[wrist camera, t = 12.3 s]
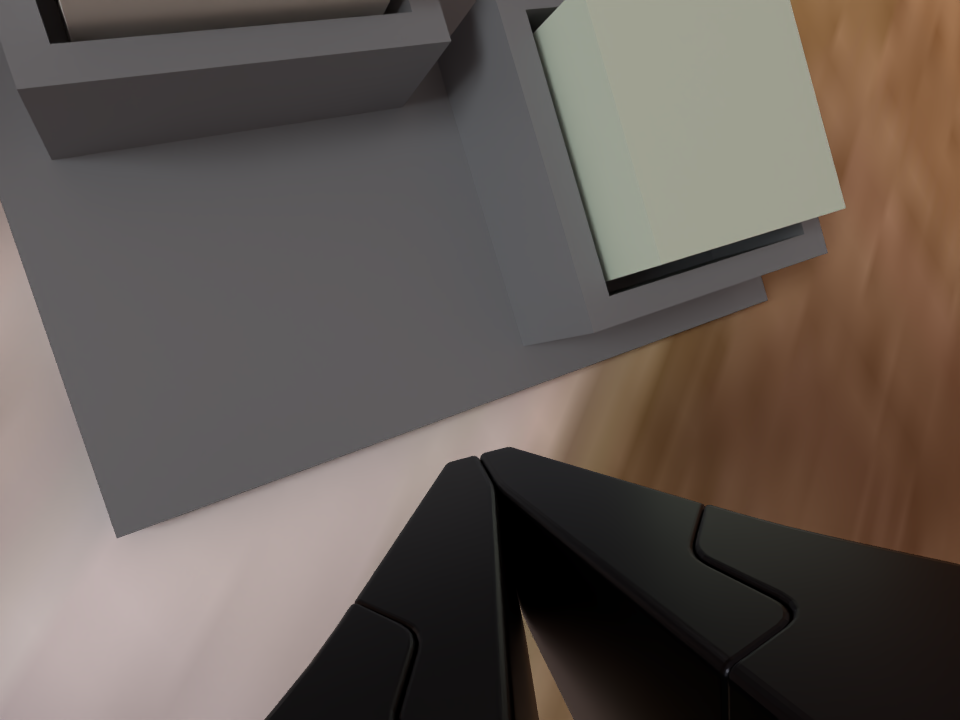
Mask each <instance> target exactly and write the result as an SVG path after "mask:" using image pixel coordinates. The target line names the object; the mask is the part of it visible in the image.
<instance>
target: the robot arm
mask: <svg viewBox="0 0 960 720" xmlns="http://www.w3.org/2000/svg"><path fill="white" fill-rule="evenodd" d="M519 604H520V605H519ZM520 607H521V610H522V613H523V616H524V618H525V620H526V622H527V624H528V627H529V629H530V631H531V633H532V635H533V637H534V639H535V641H536V643H537V646H538V648H539V650H540V652H541V654H542V656H543V658H544V660H545V662H546V664H547V666H548V668H549V670H550V672H551V674H552V676H553V678H554V680H555V682H556V684H557V686H558V688H559V690H560V692H561V694H562V696H563V698H564V701H565V703H566V705H567V707H568V709H569V711H570V713H571V715H572V717H573V719H574V720H960V564H956V563H951V562H947V561H942V560H937V559H933V558H928V557H923V556H919V555H914V554H909V553H905V552H900V551H895V550H891V549H886V548H881V547H877V546H872V545H868V544H863V543H858V542H854V541H849V540H845V539H840V538H836V537H831V536H827V535H823V534H818V533H814V532H810V531H805V530H801V529H796V528H792V527H788V526H784V525H780V524H776V523H773V522H769V521H765V520H762V519H758V518H754V517H751V516H747V515H743V514H739V513H736V512H733V511H729V510H726V509H723V508H719V507H716V506H713V505H707V506H706V507H705V506H704V505H703V504H701V503H698V502H695V501H691V500H688V499H685V498H681V497H678V496H674V495H671V494H668V493H664V492H661V491H658V490H654V489H651V488H647V487H644V486H641V485H637V484H634V483H630V482H627V481H624V480H620V479H617V478H614V477H610V476H607V475H603V474H600V473H597V472H593V471H590V470H587V469H583V468H580V467H576V466H573V465H570V464H566V463H563V462H559V461H556V460H553V459H549V458H546V457H543V456H539V455H536V454H532V453H529V452H526V451H522V450H519V449H515V448H512V447H506V448H502V449H498V450H494V451H490V452H487V453H484V454H482V455H481V458H480V459H479V458H478V457H476V456H471V457H467V458H464V459H460V460H456V461H452V462H449V463H448V464H446V465H445V467H444V468H443V470H442V471H441V473H440V474H439V476H438V478H437V479H436V481H435V482H434V484H433V485H432V487H431V488H430V490H429V491H428V493H427V494H426V496H425V497H424V499H423V500H422V502H421V503H420V505H419V506H418V508H417V509H416V511H415V512H414V514H413V515H412V517H411V518H410V520H409V521H408V523H407V524H406V526H405V527H404V529H403V530H402V532H401V533H400V535H399V536H398V538H397V539H396V541H395V542H394V544H393V545H392V547H391V548H390V550H389V551H388V553H387V554H386V556H385V557H384V559H383V560H382V562H381V563H380V565H379V566H378V568H377V569H376V571H375V572H374V574H373V575H372V577H371V578H370V580H369V581H368V583H367V584H366V586H365V587H364V589H363V590H362V592H361V593H360V595H359V596H358V598H357V599H356V601H355V603H354V604H353V605H351V606H350V607H349V609H348V610H347V612H346V613H345V615H344V616H343V618H342V619H341V621H340V622H339V624H338V625H337V627H336V628H335V630H334V631H333V632H332V634H331V635H330V637H329V638H328V639H327V641H326V642H325V643H324V645H323V646H322V648H321V649H320V650H319V652H318V653H317V655H316V656H315V657H314V659H313V660H312V662H311V663H310V664H309V666H308V667H307V668H306V669H305V671H304V672H303V673H302V674H301V675H300V677H299V678H298V679H297V680H296V682H295V683H294V684H293V685H292V687H291V688H290V689H289V690H288V692H287V693H286V694H285V695H284V696H283V698H282V699H281V700H280V701H279V703H278V704H277V705H276V706H275V708H274V709H273V710H272V711H271V712H270V714H269V715H268V716H267V717H266V718H265V720H539V717H538V711H537V704H536V698H535V692H534V686H533V679H532V673H531V667H530V661H529V654H528V648H527V642H526V636H525V630H524V625H523V620H522V615H521V610H520Z"/></svg>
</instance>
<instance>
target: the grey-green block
mask: <svg viewBox="0 0 960 720" xmlns="http://www.w3.org/2000/svg"><path fill="white" fill-rule="evenodd" d="M533 37H534V40H535V44H536V47H537V51H538V54H539V57H540V61H541V64H542V68H543V71H544V74H545V78H546V81H547V85H548V88H549V92H550V95H551V98H552V102H553V105H554V109H555V112H556V115H557V119H558V122H559V126H560V129H561V133H562V136H563V139H564V143H565V146H566V150H567V153H568V156H569V160H570V163H571V167H572V170H573V174H574V177H575V180H576V184H577V187H578V191H579V194H580V197H581V201H582V204H583V208H584V211H585V215H586V218H587V221H588V225H589V228H590V232H591V235H592V238H593V242H594V245H595V249H596V252H597V256H598V259H599V262H600V266H601V269H602V273H603V276H604V279H605V282H606V281H610V280H613V279H616V278H619V277H623V276H626V275H629V274H633V273H636V272H639V271H643V270H646V269H649V268H652V267H656V266H659V265H662V264H666V263H669V262H672V261H675V260H679V259H682V258H685V257H688V256H692V255H695V254H698V253H701V252H705V251H708V250H711V249H714V248H718V247H721V246H724V245H727V244H731V243H734V242H737V241H741V240H744V239H747V238H750V237H754V236H757V235H760V234H763V233H767V232H770V231H773V230H776V229H780V228H783V227H786V226H789V225H793V224H796V223H799V222H802V221H806V220H809V219H812V218H815V217H819V216H822V215H825V214H828V213H832V212H835V211H838V210H841V209H845V208H846V207H845V203H844V200H843V196H842V192H841V189H840V185H839V181H838V177H837V174H836V170H835V166H834V163H833V159H832V155H831V151H830V148H829V144H828V140H827V137H826V133H825V129H824V125H823V122H822V118H821V114H820V111H819V107H818V103H817V100H816V96H815V92H814V88H813V85H812V81H811V77H810V74H809V70H808V66H807V62H806V59H805V55H804V51H803V48H802V44H801V40H800V36H799V33H798V29H797V25H796V22H795V18H794V14H793V11H792V7H791V3H790V0H564V1H563V2H562V3H561V5H560V6H559V7H558V8H557V9H556V10H555V11H554V12H553V13H552V14H551V15H550V16H549V17H548V18H547V19H546V20H545V21H544V23H543V24H542V25H541V26H540V27H539V28H538V29H537V30H536V31H535V32H534V33H533Z"/></svg>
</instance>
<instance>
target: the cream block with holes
mask: <svg viewBox="0 0 960 720" xmlns="http://www.w3.org/2000/svg"><path fill="white" fill-rule="evenodd" d="M55 2H56V5H57V8H58V11H59V14H60V17H61V20H62V23H63V26H64V29H65V32H66V35H67V38H68V41H69V42H79V41H91V40H102V39H113V38H125V37H136V36H147V35H158V34H170V33H181V32H192V31H204V30H215V29H226V28H238V27H249V26H260V25H272V24H283V23H294V22H305V21H317V20H328V19H339V18H351V17H362V16H373V15H383V14H384V12H385V10H386V8H387V6H388V4H389V2H390V0H55Z"/></svg>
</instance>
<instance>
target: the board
mask: <svg viewBox="0 0 960 720" xmlns="http://www.w3.org/2000/svg"><path fill="white" fill-rule="evenodd" d="M563 1H564V0H390V2H389V4H388V6H387V8H386V10H385V12H384V14H383V15H373V16H362V17H351V18H339V19H328V20H317V21H305V22H294V23H283V24H272V25H260V26H249V27H238V28H226V29H215V30H204V31H192V32H181V33H170V34H158V35H147V36H136V37H125V38H113V39H102V40H91V41H79V42H69V41H68V38H67V35H66V32H65V29H64V26H63V23H62V20H61V17H60V14H59V11H58V8H57V5H56V2H55V0H0V200H1V203H2V205H3V208H4V211H5V214H6V217H7V220H8V223H9V226H10V229H11V232H12V235H13V237H14V240H15V243H16V246H17V249H18V252H19V255H20V258H21V261H22V264H23V267H24V269H25V272H26V275H27V278H28V281H29V284H30V287H31V290H32V293H33V296H34V299H35V301H36V304H37V307H38V310H39V313H40V316H41V319H42V322H43V325H44V328H45V331H46V333H47V336H48V339H49V342H50V345H51V348H52V351H53V354H54V357H55V360H56V363H57V365H58V368H59V371H60V374H61V377H62V380H63V383H64V386H65V389H66V392H67V395H68V398H69V400H70V403H71V406H72V409H73V412H74V415H75V418H76V421H77V424H78V427H79V430H80V432H81V435H82V438H83V441H84V444H85V447H86V450H87V453H88V456H89V459H90V462H91V464H92V467H93V470H94V473H95V476H96V479H97V482H98V485H99V488H100V491H101V494H102V496H103V499H104V502H105V505H106V508H107V511H108V514H109V517H110V520H111V523H112V526H113V528H114V531H115V534H116V537H117V538H119V537H122V536H125V535H127V534H130V533H133V532H136V531H138V530H141V529H144V528H147V527H149V526H152V525H155V524H158V523H160V522H163V521H166V520H168V519H171V518H174V517H177V516H179V515H182V514H185V513H188V512H190V511H193V510H196V509H199V508H201V507H204V506H207V505H209V504H212V503H215V502H218V501H220V500H223V499H226V498H229V497H231V496H234V495H237V494H239V493H242V492H245V491H248V490H250V489H253V488H256V487H259V486H261V485H264V484H267V483H270V482H272V481H275V480H278V479H280V478H283V477H286V476H289V475H291V474H294V473H297V472H300V471H302V470H305V469H308V468H311V467H313V466H316V465H319V464H321V463H324V462H327V461H330V460H332V459H335V458H338V457H341V456H343V455H346V454H349V453H351V452H354V451H357V450H360V449H362V448H365V447H368V446H371V445H373V444H376V443H379V442H382V441H384V440H387V439H390V438H392V437H395V436H398V435H401V434H403V433H406V432H409V431H412V430H414V429H417V428H420V427H423V426H425V425H428V424H431V423H433V422H436V421H439V420H442V419H444V418H447V417H450V416H453V415H455V414H458V413H461V412H463V411H466V410H469V409H472V408H474V407H477V406H480V405H483V404H485V403H488V402H491V401H494V400H496V399H499V398H502V397H504V396H507V395H510V394H513V393H515V392H518V391H521V390H524V389H526V388H529V387H532V386H535V385H537V384H540V383H543V382H545V381H548V380H551V379H554V378H556V377H559V376H562V375H565V374H567V373H570V372H573V371H575V370H578V369H581V368H584V367H586V366H589V365H592V364H595V363H597V362H600V361H603V360H606V359H608V358H611V357H614V356H616V355H619V354H622V353H625V352H627V351H630V350H633V349H636V348H638V347H641V346H644V345H647V344H649V343H652V342H655V341H657V340H660V339H663V338H666V337H668V336H671V335H674V334H677V333H679V332H682V331H685V330H687V329H690V328H693V327H696V326H698V325H701V324H704V323H707V322H709V321H712V320H715V319H718V318H720V317H723V316H726V315H728V314H731V313H734V312H737V311H739V310H742V309H745V308H748V307H750V306H753V305H756V304H758V303H761V302H764V301H767V300H768V299H767V296H766V292H765V288H764V285H763V281H762V278H761V276H762V275H764V274H767V273H770V272H773V271H776V270H779V269H782V268H785V267H788V266H791V265H794V264H797V263H799V262H802V261H805V260H808V259H811V258H814V257H817V256H820V255H823V254H826V253H828V252H827V248H826V244H825V241H824V237H823V233H822V230H821V226H820V222H819V219H818V217H815V218H812V219H809V220H806V221H802V222H799V223H796V224H793V225H789V226H786V227H783V228H780V229H776V230H773V231H770V232H767V233H763V234H760V235H757V236H754V237H750V238H747V239H744V240H741V241H737V242H734V243H731V244H727V245H724V246H721V247H718V248H714V249H711V250H708V251H705V252H701V253H698V254H695V255H692V256H688V257H685V258H682V259H679V260H675V261H672V262H669V263H666V264H662V265H659V266H656V267H652V268H649V269H646V270H643V271H639V272H636V273H633V274H629V275H626V276H623V277H619V278H616V279H613V280H610V281H606V282H605V279H604V276H603V273H602V269H601V266H600V262H599V259H598V256H597V252H596V249H595V245H594V242H593V238H592V235H591V232H590V228H589V225H588V221H587V218H586V215H585V211H584V208H583V204H582V201H581V197H580V194H579V191H578V187H577V184H576V180H575V177H574V174H573V170H572V167H571V163H570V160H569V156H568V153H567V150H566V146H565V143H564V139H563V136H562V133H561V129H560V126H559V122H558V119H557V115H556V112H555V109H554V105H553V102H552V98H551V95H550V92H549V88H548V85H547V81H546V78H545V74H544V71H543V68H542V64H541V61H540V57H539V54H538V51H537V47H536V44H535V40H534V37H533V33H534V32H535V31H536V30H537V29H538V28H539V27H540V26H541V25H542V24H543V23H544V21H545V20H546V19H547V18H548V17H549V16H550V15H551V14H552V13H553V12H554V11H555V10H556V9H557V8H558V7H559V6H560V5H561V3H562V2H563Z"/></svg>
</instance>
